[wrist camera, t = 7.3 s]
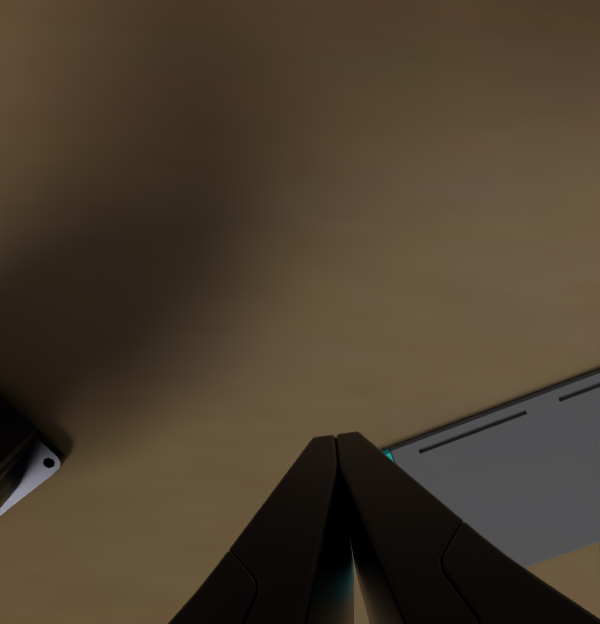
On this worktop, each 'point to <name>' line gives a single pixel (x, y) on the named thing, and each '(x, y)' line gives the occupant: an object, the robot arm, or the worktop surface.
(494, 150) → the worktop surface
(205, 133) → the worktop surface
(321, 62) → the worktop surface
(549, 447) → the gaming console
